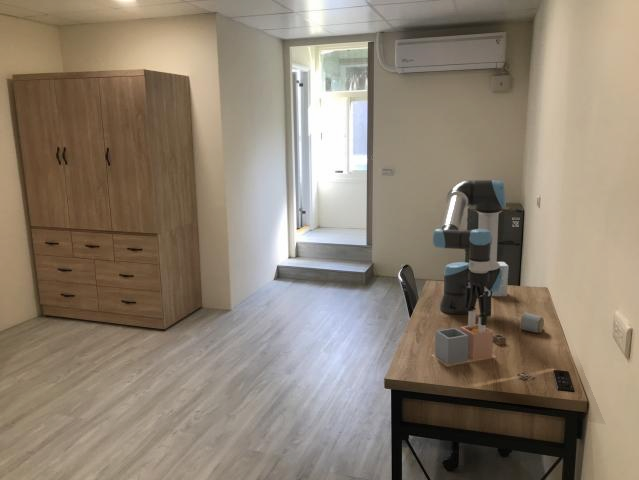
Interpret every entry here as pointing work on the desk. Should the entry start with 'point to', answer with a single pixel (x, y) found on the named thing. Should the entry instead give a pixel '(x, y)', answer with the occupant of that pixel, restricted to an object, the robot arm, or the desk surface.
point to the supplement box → (503, 281)
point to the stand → (499, 339)
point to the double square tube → (463, 345)
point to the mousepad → (525, 376)
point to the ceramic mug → (531, 323)
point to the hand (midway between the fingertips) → (476, 329)
